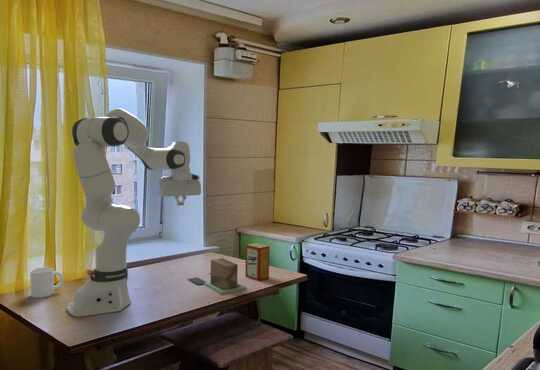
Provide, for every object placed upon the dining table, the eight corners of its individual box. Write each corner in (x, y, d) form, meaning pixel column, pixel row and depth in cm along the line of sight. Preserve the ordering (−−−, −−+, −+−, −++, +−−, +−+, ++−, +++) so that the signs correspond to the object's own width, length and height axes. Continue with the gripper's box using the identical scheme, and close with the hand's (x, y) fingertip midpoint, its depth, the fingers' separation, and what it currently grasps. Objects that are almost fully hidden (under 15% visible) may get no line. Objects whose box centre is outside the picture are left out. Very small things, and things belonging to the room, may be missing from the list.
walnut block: (225, 291, 179) (225, 266, 178) (210, 283, 189) (210, 259, 188) (237, 289, 182) (237, 264, 181) (222, 281, 193) (222, 258, 192)
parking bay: (220, 294, 175) (220, 292, 174) (203, 284, 187) (203, 282, 187) (246, 288, 182) (246, 286, 182) (228, 279, 195) (228, 277, 195)
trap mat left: (197, 285, 186) (197, 284, 186) (187, 279, 194) (187, 278, 194) (207, 283, 189) (207, 282, 189) (197, 277, 197) (197, 277, 197)
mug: (61, 288, 178) (61, 265, 177) (65, 294, 172) (65, 269, 171) (29, 293, 171) (28, 269, 170) (32, 299, 164) (31, 274, 164)
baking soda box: (245, 276, 201) (245, 243, 199) (255, 274, 205) (255, 242, 204) (258, 281, 194) (259, 247, 193) (268, 278, 198) (269, 245, 197)
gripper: (162, 176, 188) (162, 207, 189) (202, 176, 200) (202, 204, 201) (156, 176, 193) (156, 205, 194) (196, 175, 205) (196, 203, 206)
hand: (180, 205), depth 198 cm, fingers closed
